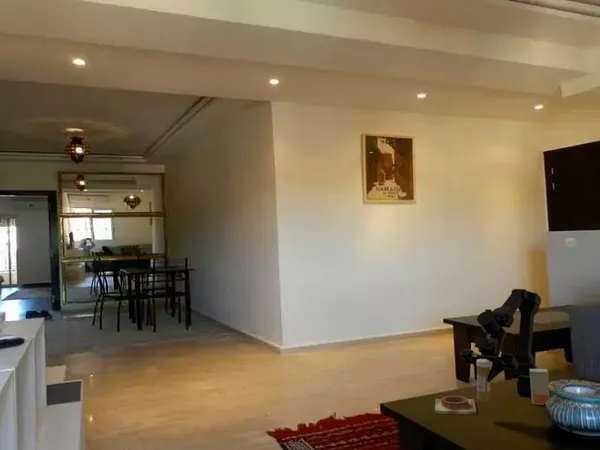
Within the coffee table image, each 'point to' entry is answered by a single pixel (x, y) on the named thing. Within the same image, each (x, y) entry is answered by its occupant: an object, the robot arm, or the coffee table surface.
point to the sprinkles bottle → (483, 379)
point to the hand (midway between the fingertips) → (481, 380)
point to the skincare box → (539, 386)
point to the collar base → (455, 405)
